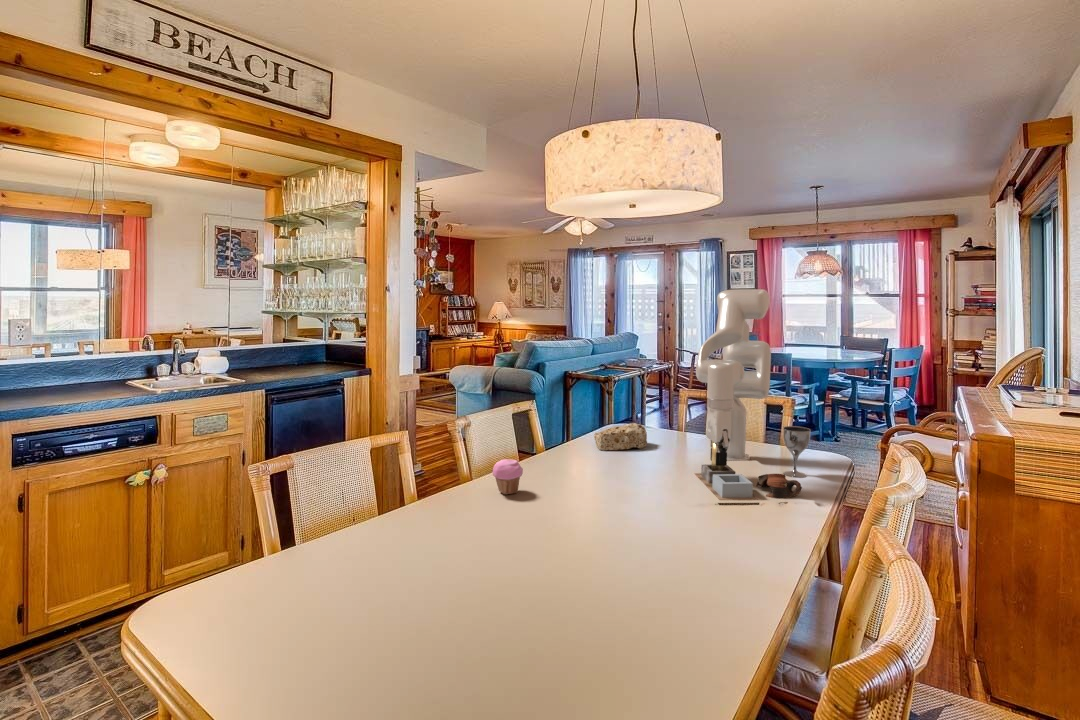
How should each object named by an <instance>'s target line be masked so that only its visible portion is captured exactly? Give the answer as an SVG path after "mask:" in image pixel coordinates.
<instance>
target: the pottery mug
mask: <svg viewBox="0 0 1080 720" xmlns="http://www.w3.org/2000/svg"><path fill="white" fill-rule="evenodd" d="M786 477H787V476H786V475H784V474H783V473H765V474H762V475H759V476H758V481H757V483H756V486H755V487H757V488H758V487H761V488H770V489H771V492H772V493H767V494H765V497H767V498H771V499H781V500H782V499H788V498H793V497H796V496H798V495H799V494H800V493H801V491H802V489H803V487H802V483H800V481H798V480H796V479H792V480H791V479H790V480H788V479H787V478H786ZM794 486H796V488H795V490H793V487H794ZM779 503H780V504H788V503H789V502H788V501H785V502H783V501H782V502H781V501H780V502H779Z"/></svg>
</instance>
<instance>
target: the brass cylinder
mask: <svg viewBox="0 0 1080 720" xmlns="http://www.w3.org/2000/svg"><path fill="white" fill-rule="evenodd" d="M720 442H723V440H720ZM722 445H723V444H722ZM722 445H720V447H721V446H722ZM716 452H717V443H714V442H712V461H711V464H712V466H711V470H712V471H725V466H717V465H716Z"/></svg>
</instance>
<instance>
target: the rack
mask: <svg viewBox="0 0 1080 720" xmlns="http://www.w3.org/2000/svg"><path fill="white" fill-rule="evenodd" d="M753 485H754V483H753V482H752V481H751V480H750V479H748V478H747V477H746V476H744V475H743V474H741V473H735V474H713V484H712V488H713V489H714V490H715V491H716V492H717V493H718V494H719V495H720V496H721V497H722V498H752V494H754V493H753V490H754V486H753Z"/></svg>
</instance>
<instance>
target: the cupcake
mask: <svg viewBox="0 0 1080 720" xmlns="http://www.w3.org/2000/svg"><path fill="white" fill-rule="evenodd" d="M523 472H524V470H523V467H522V465H521V464H520V463H519V461H518V460H515V459H513V458H512V459H510V458H508V459H506V458H503V459H501V460H499V461H497V462H496V463H495V464H494V465H493V468H492V476H493V477H495V478H494V479H495V481H496V485H497V489H498V491H499V492H500V493H501V494H503V495H510V494H511V495H512V494H517V493H518V492H519V487H520V479H521V477H522V476H523Z"/></svg>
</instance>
